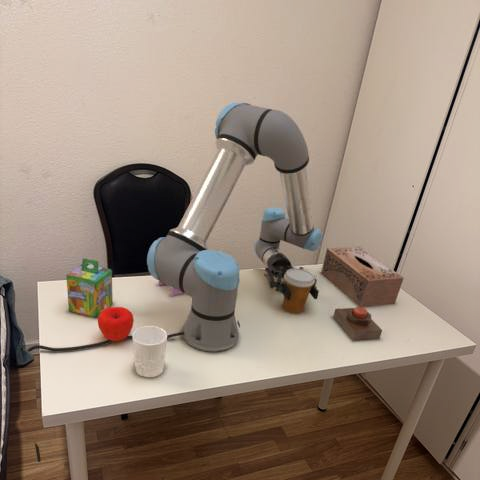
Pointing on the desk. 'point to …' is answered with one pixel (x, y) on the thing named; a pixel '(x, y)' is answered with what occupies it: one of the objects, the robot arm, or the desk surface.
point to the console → (357, 325)
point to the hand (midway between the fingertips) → (303, 295)
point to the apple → (115, 323)
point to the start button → (360, 312)
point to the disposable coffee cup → (297, 289)
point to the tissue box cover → (361, 276)
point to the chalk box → (89, 288)
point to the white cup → (149, 350)
